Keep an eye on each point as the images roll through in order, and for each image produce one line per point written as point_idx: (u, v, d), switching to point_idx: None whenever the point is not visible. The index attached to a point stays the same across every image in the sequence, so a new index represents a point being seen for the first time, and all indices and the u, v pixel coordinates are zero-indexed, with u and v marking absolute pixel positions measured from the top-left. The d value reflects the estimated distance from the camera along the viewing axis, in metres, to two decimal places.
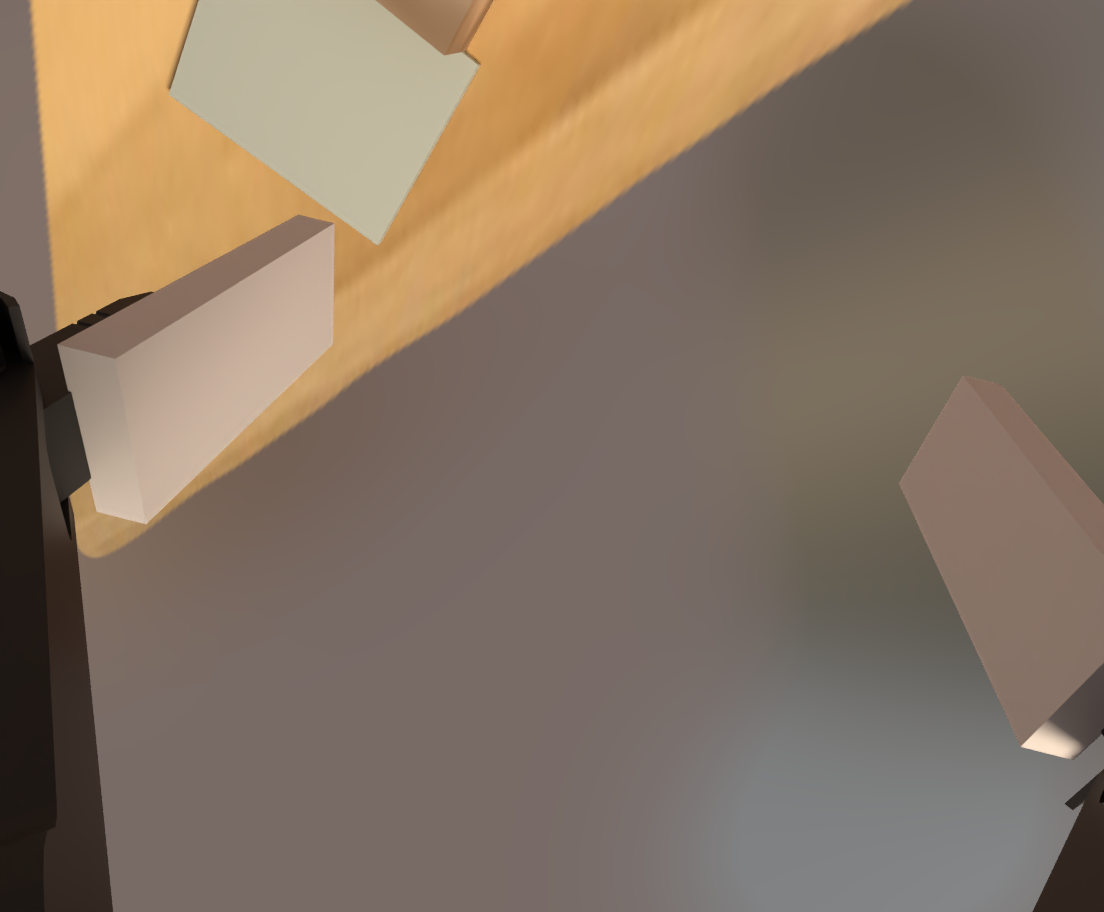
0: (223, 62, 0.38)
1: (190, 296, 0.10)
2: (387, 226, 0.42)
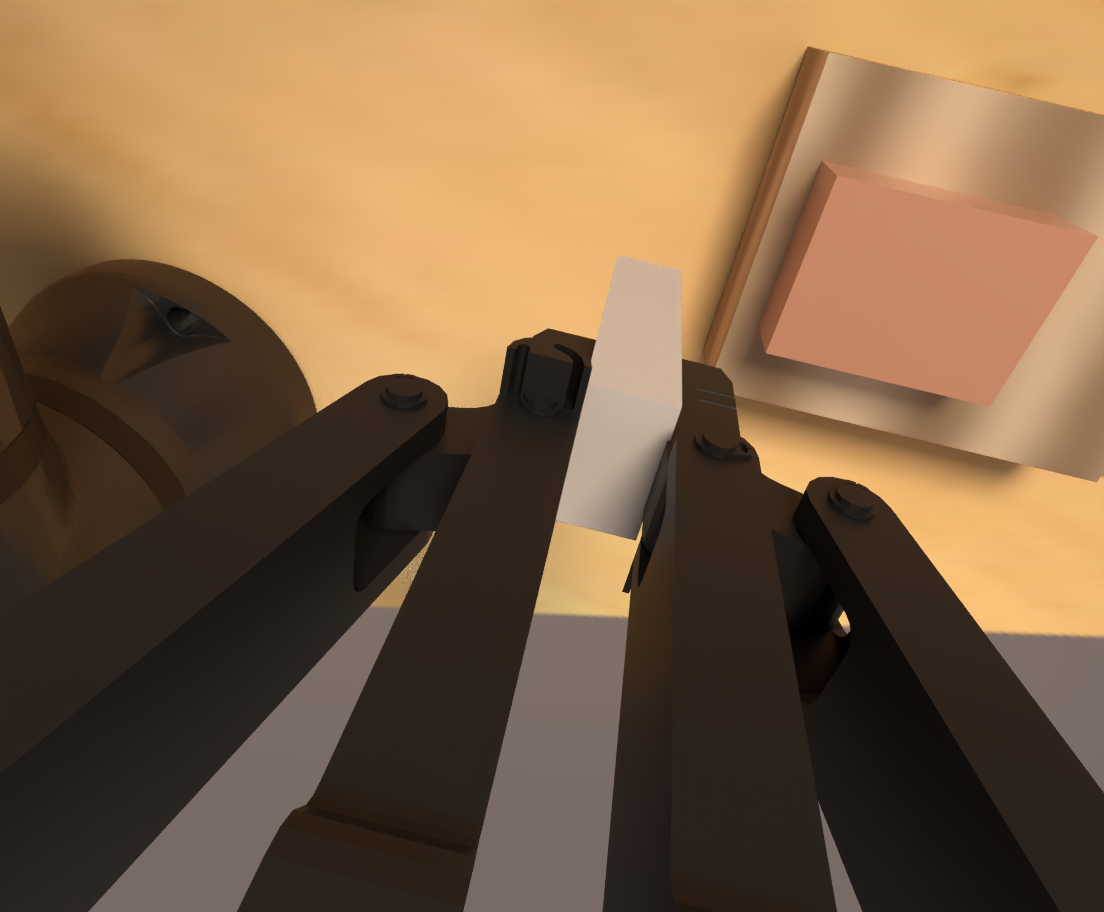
0: None
1: (624, 336, 0.12)
2: None
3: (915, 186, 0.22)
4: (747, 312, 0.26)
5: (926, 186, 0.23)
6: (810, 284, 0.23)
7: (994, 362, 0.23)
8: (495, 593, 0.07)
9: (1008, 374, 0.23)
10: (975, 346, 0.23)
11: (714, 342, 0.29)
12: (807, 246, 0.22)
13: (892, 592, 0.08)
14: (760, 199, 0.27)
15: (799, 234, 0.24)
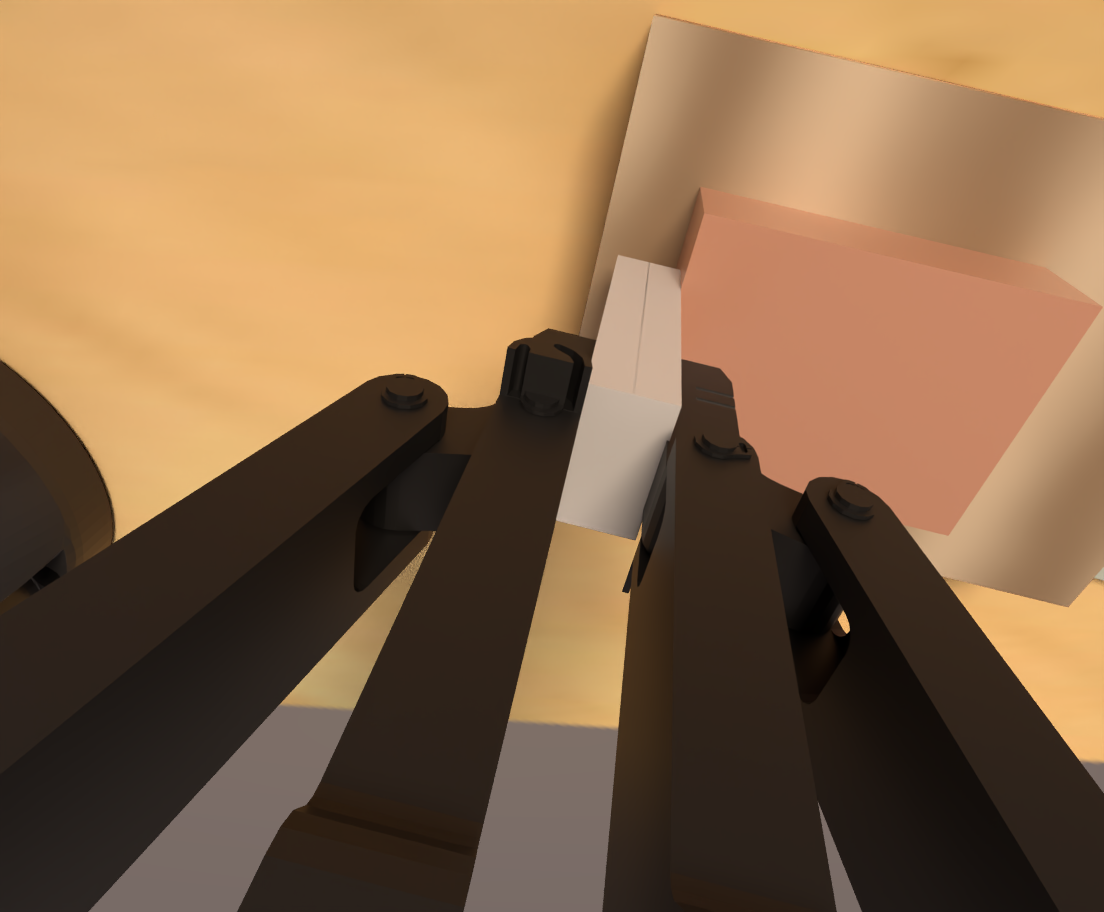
0: None
1: (624, 336, 0.12)
2: None
3: (831, 226, 0.15)
4: None
5: (850, 224, 0.15)
6: None
7: (952, 478, 0.16)
8: (495, 594, 0.07)
9: (972, 493, 0.16)
10: (923, 455, 0.16)
11: None
12: None
13: (892, 592, 0.08)
14: None
15: None
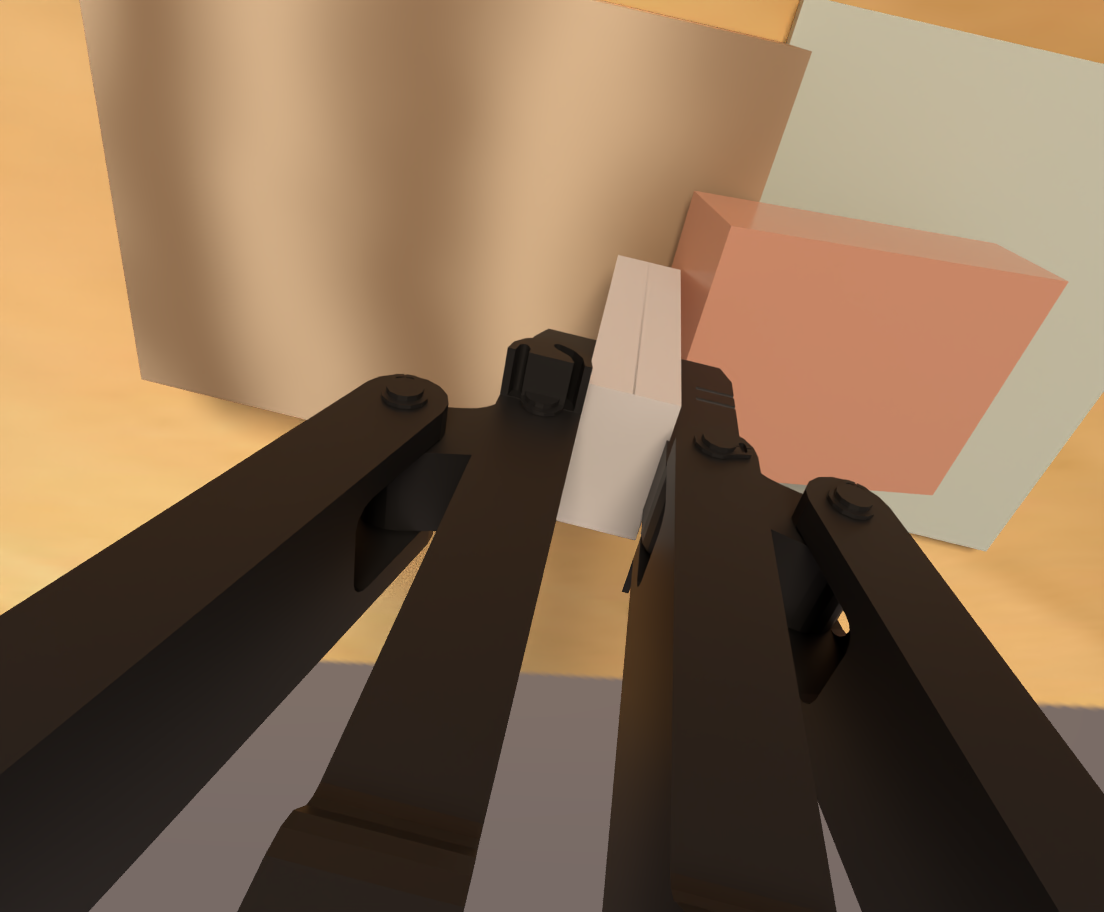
0: None
1: (624, 336, 0.12)
2: None
3: (827, 223, 0.15)
4: (139, 274, 0.19)
5: (837, 218, 0.16)
6: None
7: (939, 445, 0.17)
8: (495, 593, 0.07)
9: (953, 455, 0.18)
10: (916, 429, 0.17)
11: None
12: (694, 327, 0.15)
13: (891, 592, 0.08)
14: None
15: None
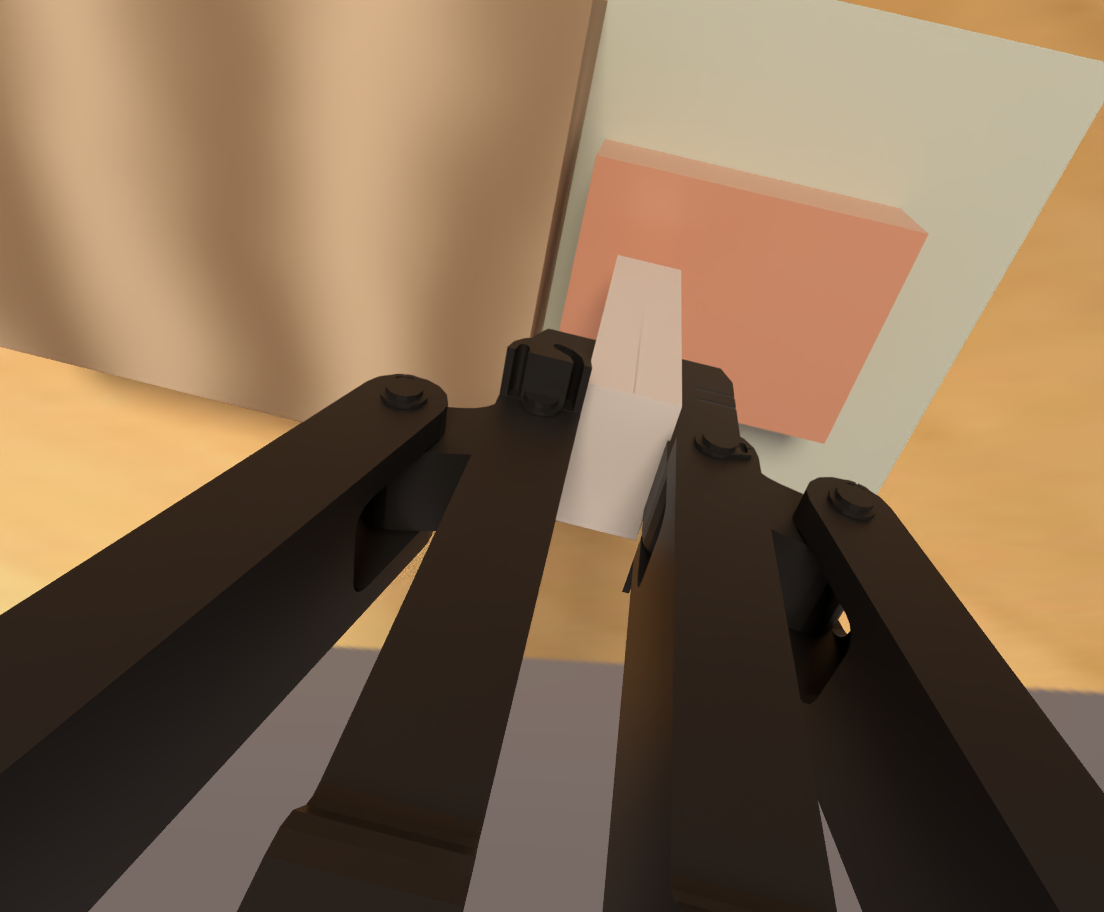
0: (781, 447, 0.23)
1: (624, 336, 0.12)
2: (1062, 54, 0.16)
3: (712, 170, 0.18)
4: None
5: (732, 170, 0.18)
6: (587, 292, 0.18)
7: (822, 390, 0.19)
8: (496, 593, 0.07)
9: (842, 404, 0.19)
10: (795, 370, 0.18)
11: None
12: (577, 245, 0.18)
13: (892, 592, 0.08)
14: None
15: None
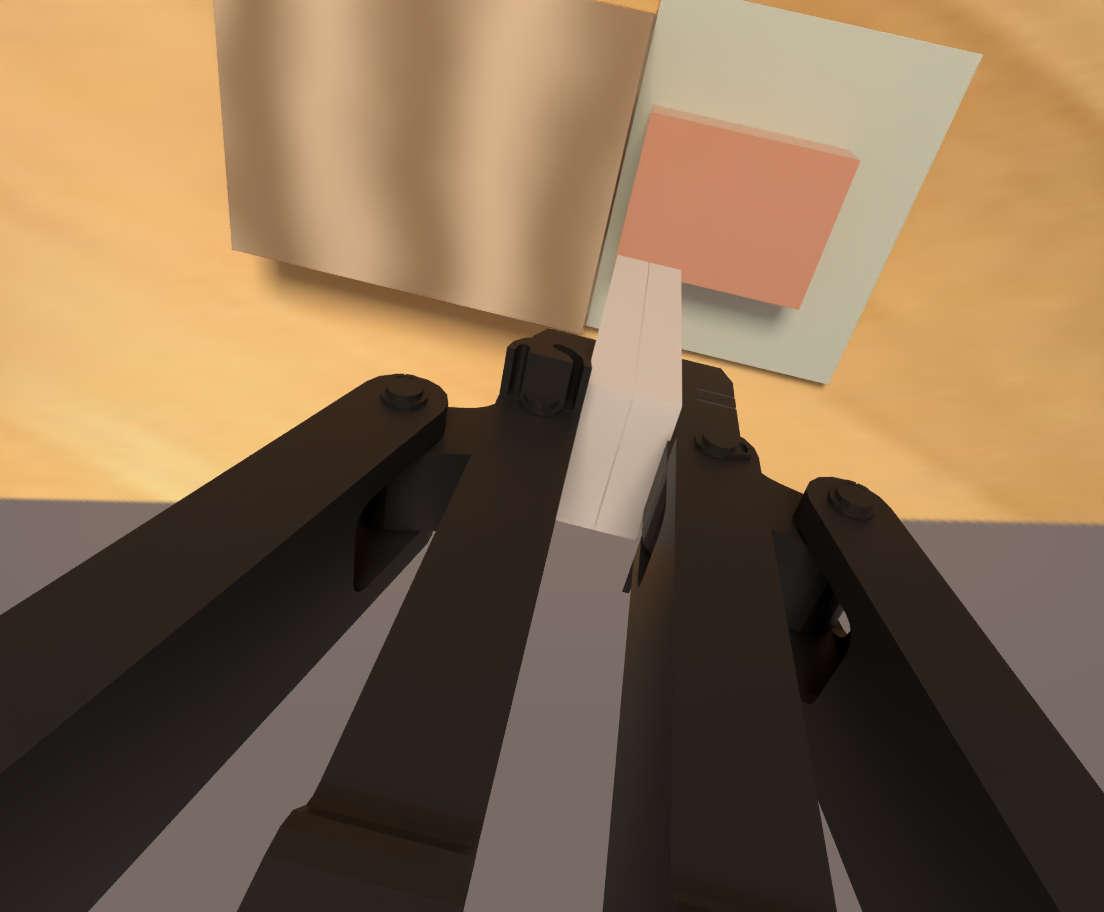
0: (771, 325, 0.32)
1: (624, 336, 0.12)
2: (944, 47, 0.26)
3: (724, 123, 0.27)
4: (236, 171, 0.29)
5: (736, 124, 0.28)
6: (641, 204, 0.28)
7: (796, 270, 0.28)
8: (495, 593, 0.07)
9: (810, 281, 0.28)
10: (778, 256, 0.28)
11: None
12: (636, 172, 0.27)
13: (892, 592, 0.08)
14: None
15: None
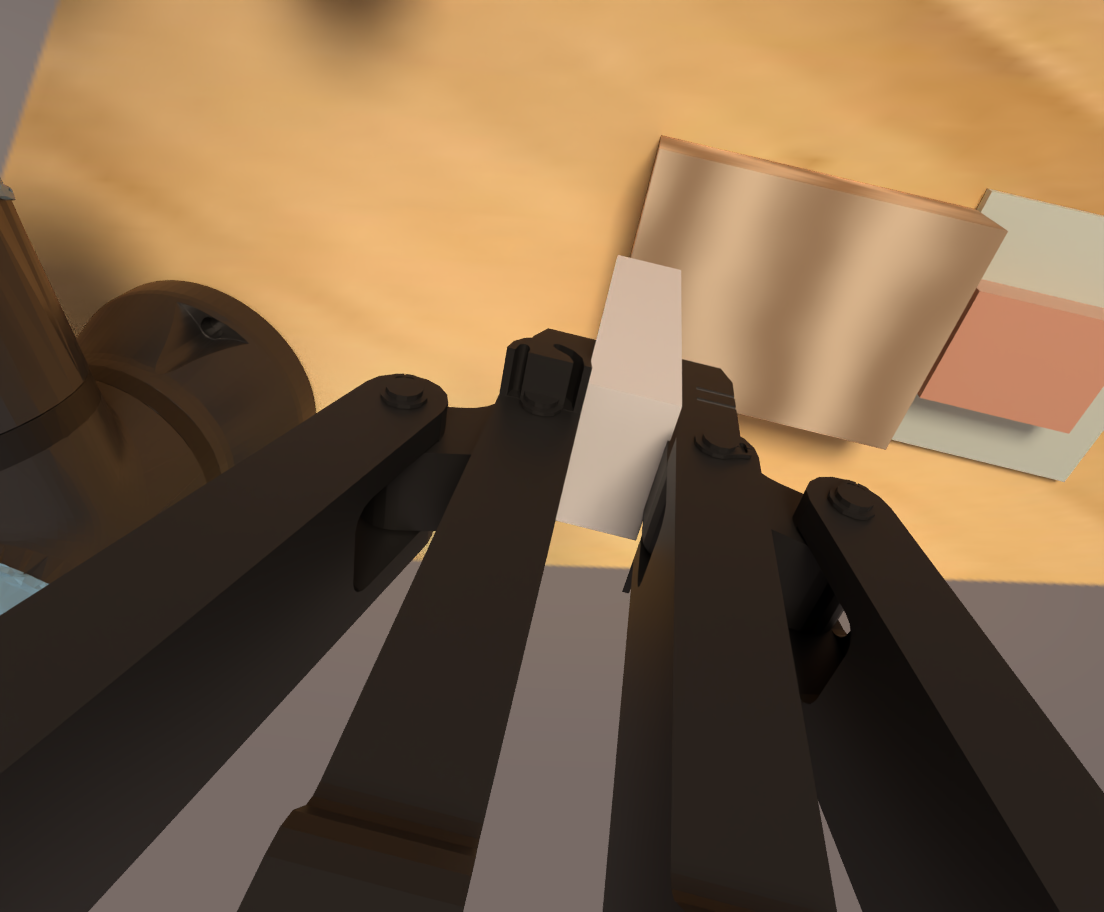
0: (1025, 436, 0.39)
1: (624, 336, 0.12)
2: None
3: (1025, 293, 0.34)
4: None
5: (1031, 292, 0.35)
6: (955, 355, 0.35)
7: (1073, 405, 0.36)
8: (495, 594, 0.07)
9: (1082, 413, 0.36)
10: (1061, 395, 0.35)
11: None
12: (955, 331, 0.35)
13: (892, 592, 0.08)
14: (634, 241, 0.36)
15: None
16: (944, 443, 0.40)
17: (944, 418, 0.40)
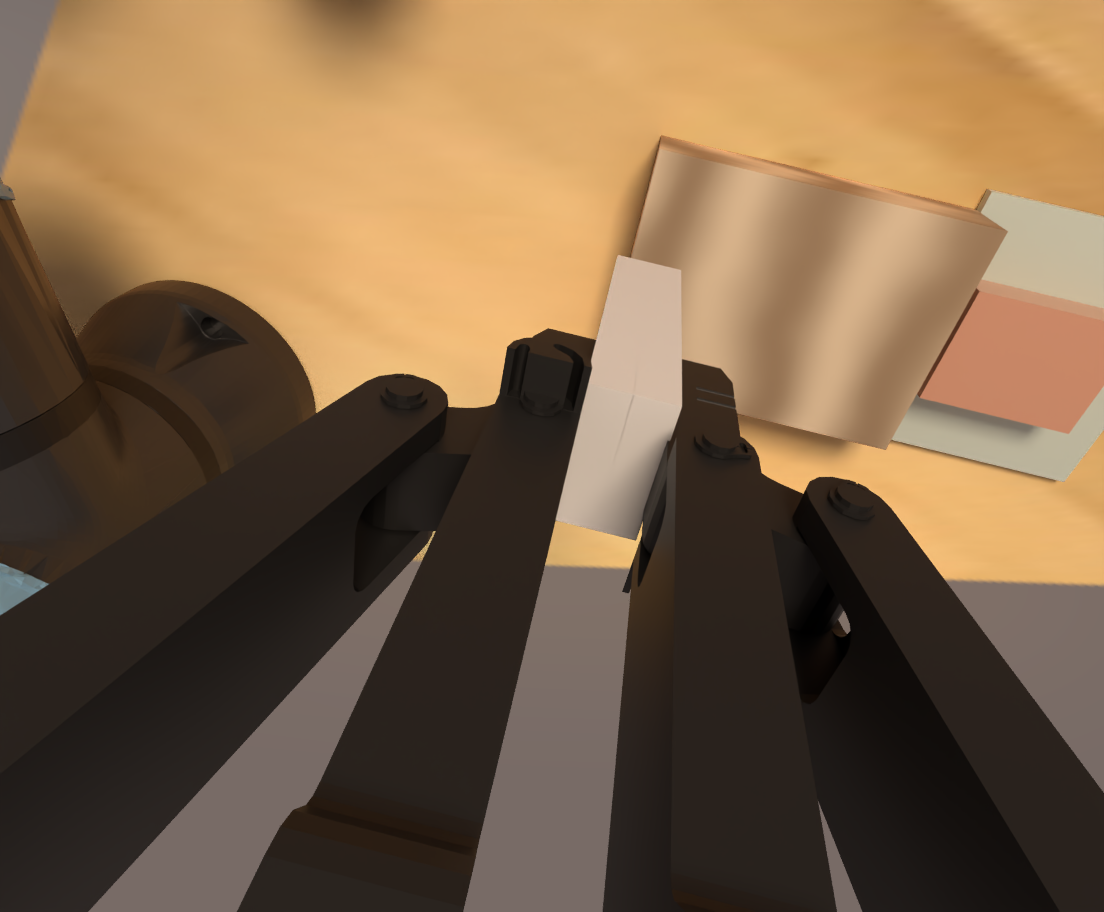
0: (1025, 436, 0.40)
1: (624, 336, 0.12)
2: None
3: (1025, 294, 0.35)
4: None
5: (1030, 292, 0.35)
6: (955, 355, 0.35)
7: (1073, 405, 0.36)
8: (495, 593, 0.07)
9: (1081, 413, 0.36)
10: (1060, 395, 0.35)
11: None
12: (955, 332, 0.35)
13: (892, 592, 0.08)
14: (634, 242, 0.36)
15: None
16: (944, 443, 0.40)
17: (944, 418, 0.40)
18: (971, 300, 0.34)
